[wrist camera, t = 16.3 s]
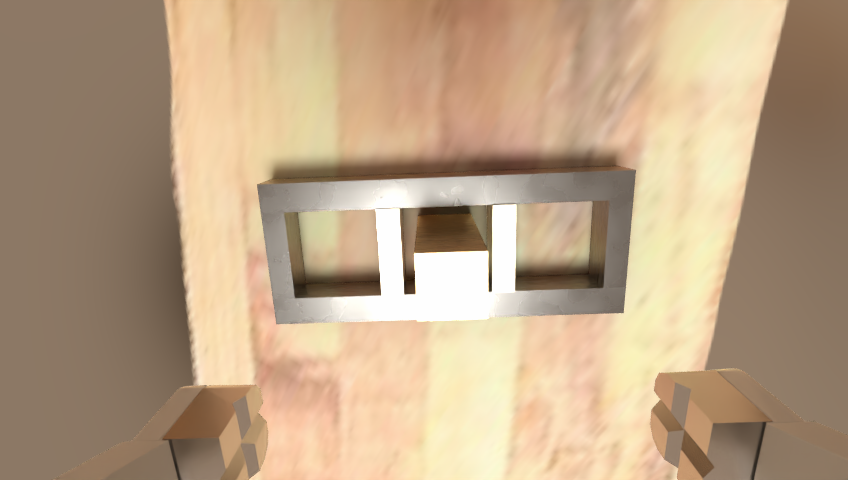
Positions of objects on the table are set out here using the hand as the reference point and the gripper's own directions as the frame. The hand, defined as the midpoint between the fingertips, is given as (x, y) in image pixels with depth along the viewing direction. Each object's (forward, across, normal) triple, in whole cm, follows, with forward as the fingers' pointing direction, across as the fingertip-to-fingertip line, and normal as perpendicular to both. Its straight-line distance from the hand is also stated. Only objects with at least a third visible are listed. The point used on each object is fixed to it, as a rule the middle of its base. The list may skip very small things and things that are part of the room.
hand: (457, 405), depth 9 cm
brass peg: (+25, -1, +4) cm, 25 cm away
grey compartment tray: (+25, -1, +4) cm, 25 cm away
